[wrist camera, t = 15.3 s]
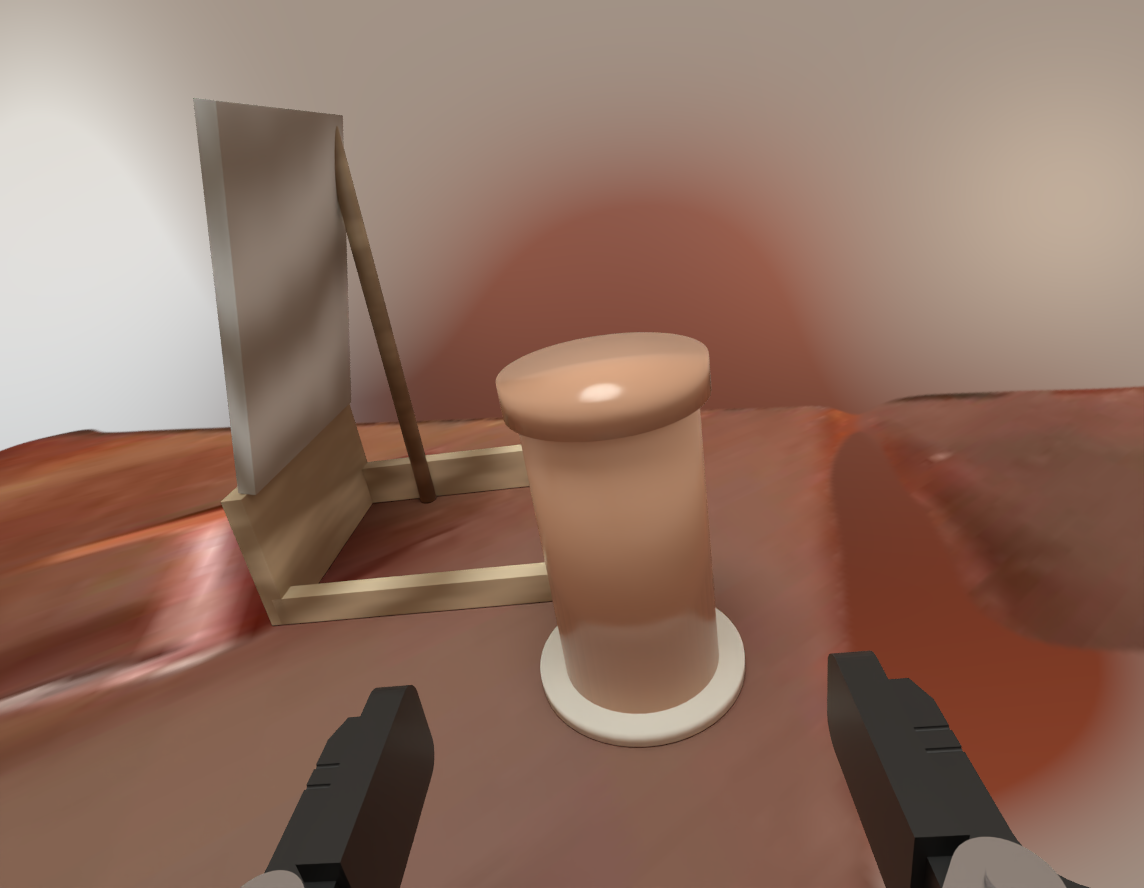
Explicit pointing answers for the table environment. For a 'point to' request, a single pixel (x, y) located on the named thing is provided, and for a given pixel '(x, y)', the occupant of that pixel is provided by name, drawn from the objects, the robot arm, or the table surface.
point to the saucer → (650, 725)
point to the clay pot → (622, 510)
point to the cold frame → (318, 377)
